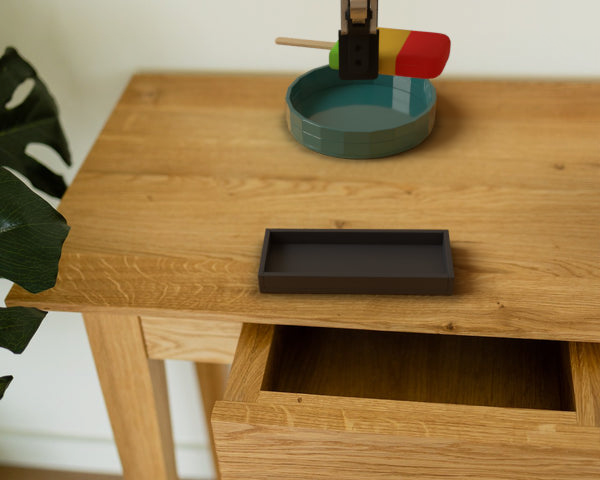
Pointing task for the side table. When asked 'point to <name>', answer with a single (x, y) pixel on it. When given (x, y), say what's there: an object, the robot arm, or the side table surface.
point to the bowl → (359, 113)
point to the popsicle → (395, 52)
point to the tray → (356, 261)
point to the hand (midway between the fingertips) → (358, 57)
